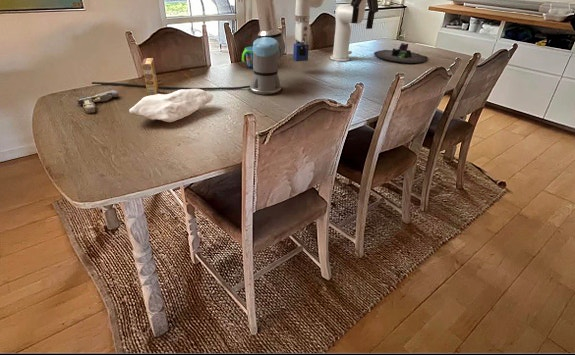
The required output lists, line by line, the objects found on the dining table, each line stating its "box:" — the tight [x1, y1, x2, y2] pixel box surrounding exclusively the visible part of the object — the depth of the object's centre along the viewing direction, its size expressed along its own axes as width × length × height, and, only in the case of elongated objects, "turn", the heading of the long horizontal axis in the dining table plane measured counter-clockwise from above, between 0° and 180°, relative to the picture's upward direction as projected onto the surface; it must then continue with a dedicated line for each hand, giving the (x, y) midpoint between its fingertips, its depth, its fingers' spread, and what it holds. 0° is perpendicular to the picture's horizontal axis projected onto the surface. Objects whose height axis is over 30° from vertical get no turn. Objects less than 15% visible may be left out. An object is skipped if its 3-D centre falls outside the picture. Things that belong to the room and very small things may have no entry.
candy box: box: [141, 57, 160, 96], centre depth 163 cm, size 9×4×15 cm, turn 13°
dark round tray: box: [373, 42, 428, 64], centre depth 240 cm, size 35×35×9 cm
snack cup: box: [241, 45, 253, 69], centre depth 208 cm, size 16×10×10 cm
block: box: [292, 42, 310, 62], centre depth 200 cm, size 5×7×8 cm
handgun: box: [76, 89, 120, 114], centre depth 155 cm, size 3×18×15 cm
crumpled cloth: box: [129, 89, 214, 123], centre depth 147 cm, size 24×35×9 cm
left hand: (361, 25), depth 167 cm, fingers open, 13 cm apart
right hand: (300, 53), depth 201 cm, fingers closed on block, 4 cm apart
